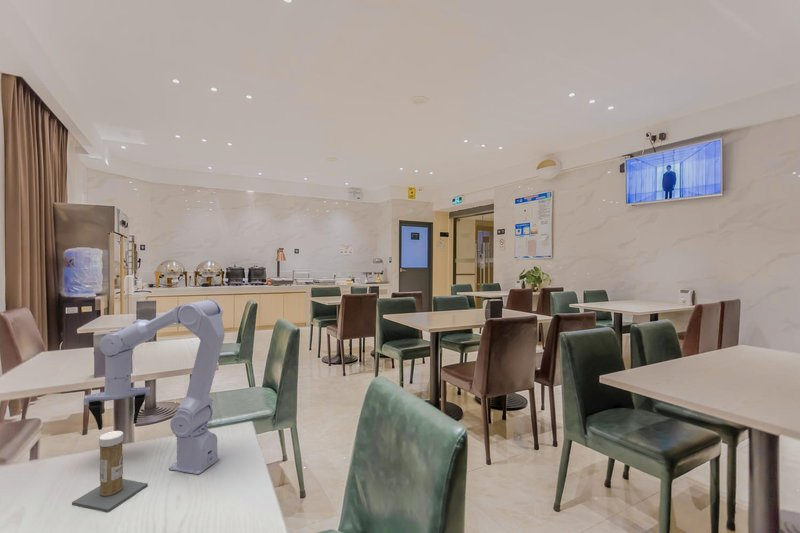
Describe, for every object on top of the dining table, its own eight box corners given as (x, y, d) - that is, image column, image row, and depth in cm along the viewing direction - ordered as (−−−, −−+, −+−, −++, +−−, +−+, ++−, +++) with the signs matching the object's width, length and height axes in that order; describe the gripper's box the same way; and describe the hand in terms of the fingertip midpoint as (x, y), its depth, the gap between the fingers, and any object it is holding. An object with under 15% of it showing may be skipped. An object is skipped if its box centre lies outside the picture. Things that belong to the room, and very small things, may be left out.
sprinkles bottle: (123, 492, 90) (123, 435, 90) (98, 499, 87) (98, 440, 87) (123, 483, 94) (123, 428, 93) (99, 489, 91) (99, 433, 91)
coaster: (147, 485, 94) (147, 483, 94) (108, 512, 84) (108, 509, 84) (114, 479, 96) (114, 477, 96) (72, 504, 86) (72, 502, 86)
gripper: (150, 368, 113) (149, 414, 113) (86, 375, 105) (86, 425, 105) (149, 375, 107) (149, 423, 107) (82, 383, 99) (82, 435, 99)
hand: (118, 425), depth 106 cm, fingers open, 7 cm apart
